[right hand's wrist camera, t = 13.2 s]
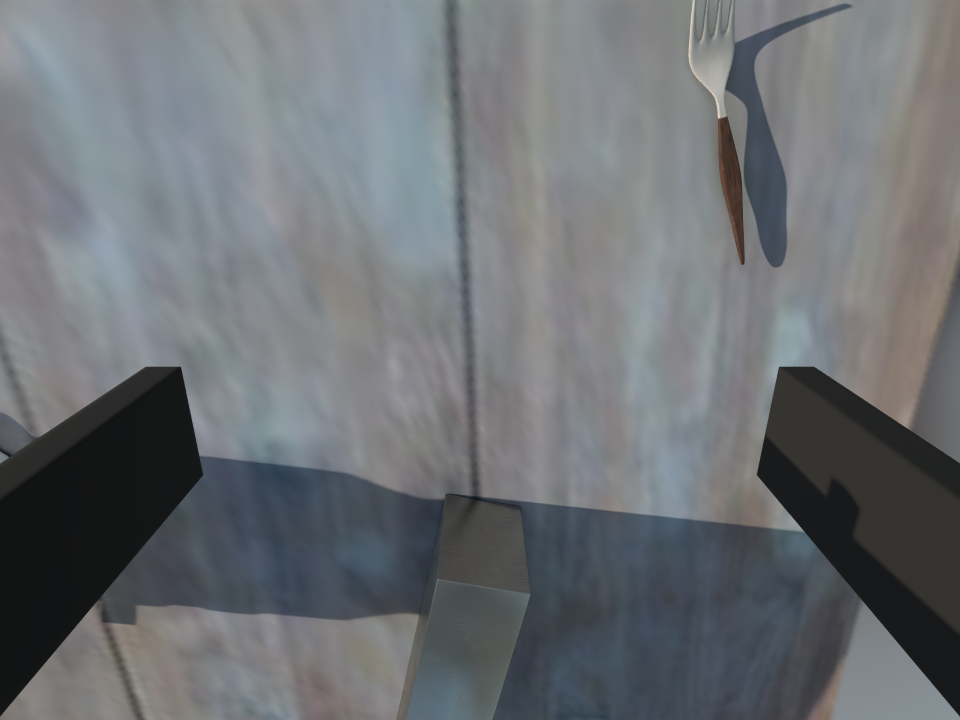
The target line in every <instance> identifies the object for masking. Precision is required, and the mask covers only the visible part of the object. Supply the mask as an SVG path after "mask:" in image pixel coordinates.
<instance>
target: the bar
mask: <svg viewBox="0 0 960 720" xmlns="http://www.w3.org/2000/svg"><path fill="white" fill-rule="evenodd" d="M530 595H531V593H530V584H529V575H528V566H527V557H526V548H525V540H524V531H523V522H522V513H521V507H520V506H514V505H508V504H502V503H497V502H491V501H485V500H479V499H474V498H468V497H462V496H456V495H451V494H445V499H444V504H443V508H442V513H441V517H440V522H439V527H438V531H437V536H436V541H435V545H434V550H433V555H432V559H431V564H430V568H429V573H428V578H427V582H426V587H425V592H424V596H423V601H422V605H421V610H420V615H419V619H418V624H417V629H416V633H415V638H414V642H413V647H412V652H411V656H410V661H409V666H408V670H407V675H406V679H405V684H404V689H403V693H402V698H401V703H400V707H399V712H398V717H397V720H493V718H494V714H495V711H496V708H497V704H498V701H499V698H500V694H501V691H502V688H503V685H504V681H505V678H506V675H507V671H508V668H509V665H510V661H511V658H512V655H513V651H514V648H515V645H516V642H517V638H518V635H519V632H520V628H521V625H522V622H523V618H524V615H525V612H526V609H527V605H528V602H529V599H530Z"/></svg>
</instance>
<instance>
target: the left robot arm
mask: <svg viewBox="0 0 960 720" xmlns="http://www.w3.org/2000/svg"><path fill="white" fill-rule="evenodd" d="M8 458H9V457H8V456H7V455H5V454H4V453H2V452H0V463H2V462H3V461H5V460H6V459H8Z"/></svg>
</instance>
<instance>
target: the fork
mask: <svg viewBox="0 0 960 720" xmlns="http://www.w3.org/2000/svg"><path fill="white" fill-rule="evenodd" d="M734 15H735V0H731V1H730V8H729V16H728V23H727V28H726V30H725V31H724V32H723V31H722V0H718V6H717V13H716V22H715V29H714V33H713V35H712V36H710V34H709V0H706V2H705V10H704V19H703V29H702V36H701V38H700V40H698V39H697V35H696V0H693V6H692V15H691V26H690V41H689V63H690V66H691V69H692V71H693V73H694V74H695V76H696V77H697V78H698V80H699V81H700V82H701V83H702V84H703V85H704V86H705V87H706V88H707V89H708V90H709V91H710V92H711V93H712V95H713V96H714V98H715V100H716V103H717V109H718V140H719V168H720V178H721V184H722V189H723V193H724V197H725V201H726V204H727V208H728V212H729V216H730V220H731V224H732V229H733V233H734V238H735V242H736V247H737V251H738V255H739V259H740V262H741V265H743V264H744V232H743V204H742V180H741V172H740V166H739V162H738V157H737V153H736V149H735V145H734V141H733V137H732V133H731V129H730V126H729V122H728V117H727V113H726V109H725V103H724V93H725V88H726V84H727V80H728V77H729V74H730V70H731V67H732V62H733V57H734V48H735V36H734Z"/></svg>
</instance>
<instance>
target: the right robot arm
mask: <svg viewBox="0 0 960 720" xmlns="http://www.w3.org/2000/svg"><path fill="white" fill-rule="evenodd" d="M202 476H203V472H202V467H201V462H200V457H199V452H198V447H197V443H196V438H195V433H194V428H193V423H192V418H191V413H190V409H189V404H188V399H187V394H186V389H185V384H184V379H183V374H182V370H181V367H145V368H143V369H142V370H140V371H139V372H137V373H136V374H134V375H133V376H131V377H130V378H128V379H127V380H125V381H124V382H122V383H121V384H119V385H118V386H116V387H115V388H113V389H112V390H110V391H109V392H107V393H106V394H104V395H103V396H101V397H100V398H98V399H97V400H95V401H94V402H92V403H91V404H89V405H88V406H86V407H85V408H83V409H82V410H80V411H79V412H77V413H76V414H74V415H73V416H71V417H69V418H68V419H66V420H65V421H63V422H62V423H60V424H59V425H57V426H56V427H54V428H53V429H51V430H50V431H48V432H47V433H45V434H44V435H42V436H41V437H39V438H38V439H36V440H35V441H33V442H32V443H30V444H29V445H27V446H26V447H24V448H23V449H21V450H20V451H18V452H17V453H15V454H14V455H12V456H11V457H9V458H8V459H6V460H5V461H3V462H2V463H0V716H1V715H2V714H3V712H4V711H5V710H6V709H7V708H8V706H9V705H10V704H11V703H12V702H13V701H14V699H15V698H16V697H17V696H18V695H19V693H20V692H21V691H22V690H23V689H24V687H25V686H26V685H27V684H28V683H29V681H30V680H31V679H32V678H33V677H34V676H35V674H36V673H37V672H38V671H39V670H40V668H41V667H42V666H43V665H44V664H45V662H46V661H47V660H48V659H49V658H50V657H51V655H52V654H53V653H54V652H55V651H56V649H57V648H58V647H59V646H60V645H61V643H62V642H63V641H64V640H65V639H66V637H67V636H68V635H69V634H70V633H71V632H72V630H73V629H74V628H75V627H76V626H77V624H78V623H79V622H80V621H81V620H82V618H83V617H84V616H85V615H86V614H87V612H88V611H89V610H90V609H91V608H92V607H93V605H94V604H95V603H96V602H97V601H98V599H99V598H100V597H101V596H102V595H103V593H104V592H105V591H106V590H107V589H108V588H109V586H110V585H111V584H112V583H113V582H114V580H115V579H116V578H117V577H118V576H119V574H120V573H121V572H122V571H123V570H124V568H125V567H126V566H127V565H128V564H129V563H130V561H131V560H132V559H133V558H134V557H135V555H136V554H137V553H138V552H139V551H140V549H141V548H142V547H143V546H144V545H145V543H146V542H147V541H148V540H149V539H150V538H151V536H152V535H153V534H154V533H155V532H156V530H157V529H158V528H159V527H160V526H161V524H162V523H163V522H164V521H165V520H166V519H167V517H168V516H169V515H170V514H171V513H172V511H173V510H174V509H175V508H176V507H177V505H178V504H179V503H180V502H181V501H182V499H183V498H184V497H185V496H186V495H187V494H188V492H189V491H190V490H191V489H192V488H193V486H194V485H195V484H196V483H197V482H198V480H199V479H200V478H201V477H202ZM757 476H758V477H759V478H760V479H761V480H762V482H763V483H764V484H765V485H766V486H767V488H768V489H769V490H770V491H771V492H772V494H773V495H774V496H775V497H776V498H777V499H778V501H779V502H780V503H781V504H782V505H783V507H784V508H785V509H786V510H787V511H788V513H789V514H790V515H791V516H792V517H793V519H794V520H795V521H796V522H797V523H798V524H799V526H800V527H801V528H802V529H803V530H804V532H805V533H806V534H807V535H808V536H809V538H810V539H811V540H812V541H813V542H814V543H815V545H816V546H817V547H818V548H819V549H820V551H821V552H822V553H823V554H824V555H825V557H826V558H827V559H828V560H829V561H830V563H831V564H832V565H833V566H834V567H835V568H836V570H837V571H838V572H839V573H840V574H841V576H842V577H843V578H844V579H845V580H846V582H847V583H848V584H849V585H850V586H851V588H852V589H853V590H854V591H855V592H856V593H857V595H858V596H859V597H860V598H861V599H862V601H863V602H864V603H865V604H866V605H867V607H868V608H869V609H870V610H871V611H872V612H873V614H874V615H875V616H876V617H877V618H878V620H879V621H880V622H881V623H882V624H883V625H884V627H885V628H886V629H887V630H888V632H889V633H890V634H891V635H892V636H893V637H894V639H895V640H896V641H897V642H898V643H899V645H900V646H901V647H902V648H903V649H904V651H905V652H906V653H907V654H908V655H909V657H910V658H911V659H912V660H913V661H914V662H915V664H916V665H917V666H918V667H919V668H920V670H921V671H922V672H923V673H924V674H925V675H926V677H927V678H928V679H929V680H930V681H931V683H932V684H933V685H934V686H935V687H936V689H937V690H938V691H939V692H940V693H941V695H942V696H943V697H944V698H945V699H946V700H947V702H948V703H949V704H950V705H951V706H952V708H953V709H954V710H955V711H956V712H957V714H958V715H959V716H960V463H958V462H957V461H955V460H954V459H952V458H951V457H949V456H948V455H946V454H945V453H943V452H942V451H940V450H939V449H937V448H936V447H934V446H933V445H931V444H930V443H928V442H927V441H925V440H924V439H922V438H921V437H919V436H918V435H916V434H915V433H913V432H912V431H910V430H909V429H907V428H906V427H904V426H903V425H901V424H900V423H898V422H897V421H895V420H894V419H892V418H891V417H889V416H887V415H886V414H884V413H883V412H881V411H880V410H878V409H877V408H875V407H874V406H872V405H871V404H869V403H868V402H866V401H865V400H863V399H862V398H860V397H859V396H857V395H856V394H854V393H853V392H851V391H850V390H848V389H847V388H845V387H844V386H842V385H841V384H839V383H838V382H836V381H835V380H833V379H832V378H830V377H829V376H827V375H826V374H824V373H823V372H821V371H820V370H818V369H817V368H815V367H779V370H778V374H777V379H776V384H775V389H774V394H773V399H772V404H771V409H770V413H769V418H768V423H767V428H766V433H765V438H764V443H763V447H762V452H761V457H760V462H759V467H758V472H757Z"/></svg>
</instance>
